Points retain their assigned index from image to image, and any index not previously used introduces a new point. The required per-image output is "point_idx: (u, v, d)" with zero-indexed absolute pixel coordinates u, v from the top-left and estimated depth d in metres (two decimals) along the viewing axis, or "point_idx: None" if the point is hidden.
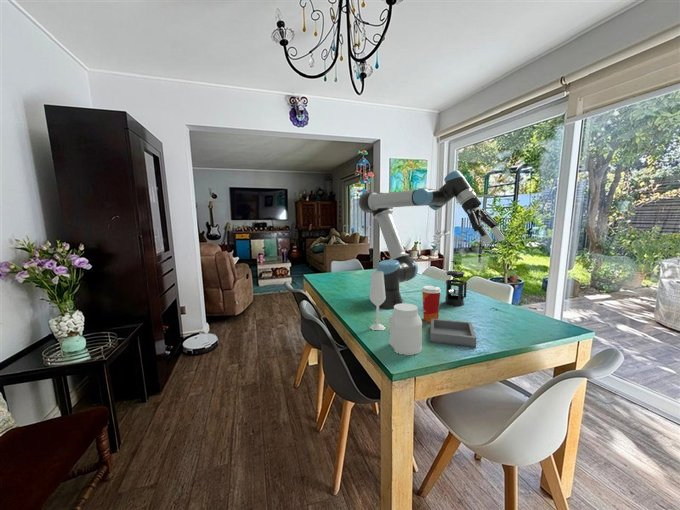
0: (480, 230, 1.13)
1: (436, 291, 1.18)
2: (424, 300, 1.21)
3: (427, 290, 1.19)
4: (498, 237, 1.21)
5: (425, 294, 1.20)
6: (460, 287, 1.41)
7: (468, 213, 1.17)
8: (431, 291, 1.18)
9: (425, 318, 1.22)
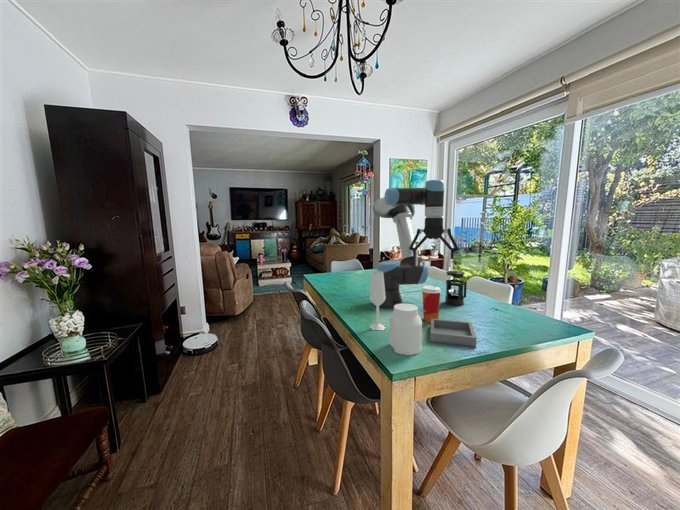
0: (413, 252, 1.22)
1: (436, 291, 1.18)
2: (424, 300, 1.21)
3: (427, 290, 1.19)
4: (448, 262, 1.19)
5: (425, 294, 1.20)
6: (460, 287, 1.41)
7: None
8: (431, 291, 1.18)
9: (425, 318, 1.22)
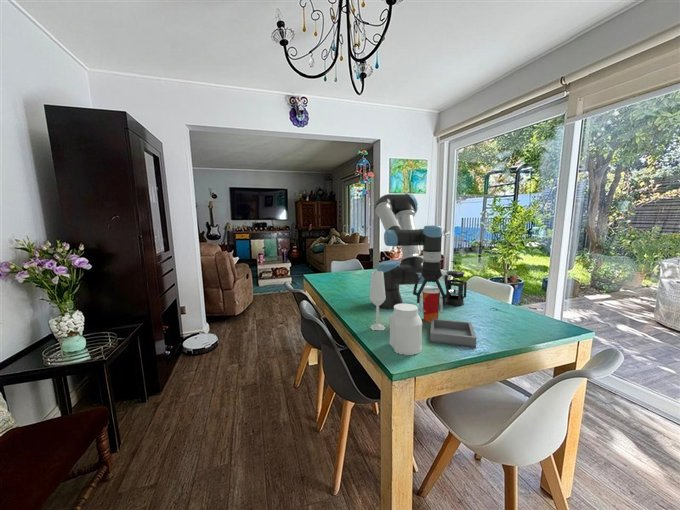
0: (417, 297, 1.24)
1: (436, 291, 1.18)
2: (424, 300, 1.21)
3: (427, 290, 1.19)
4: (440, 307, 1.22)
5: (425, 294, 1.20)
6: (460, 287, 1.41)
7: None
8: (431, 291, 1.18)
9: (425, 318, 1.22)
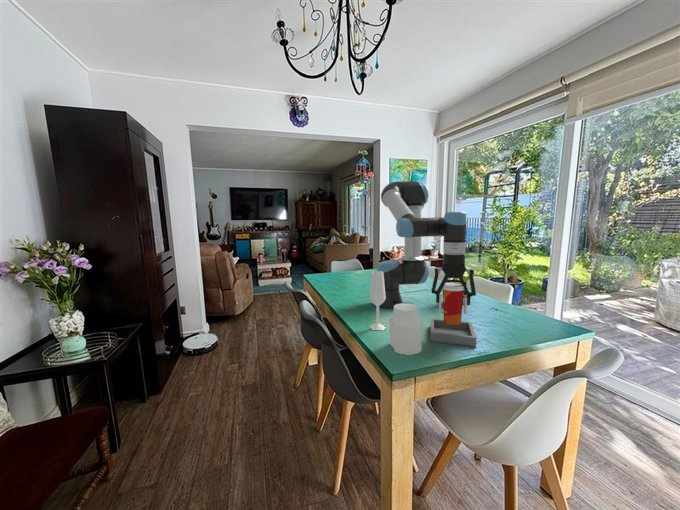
0: (436, 296, 1.06)
1: (460, 288, 1.00)
2: (445, 299, 1.03)
3: (449, 287, 1.01)
4: None
5: (446, 292, 1.02)
6: None
7: None
8: (454, 288, 1.01)
9: (446, 320, 1.04)
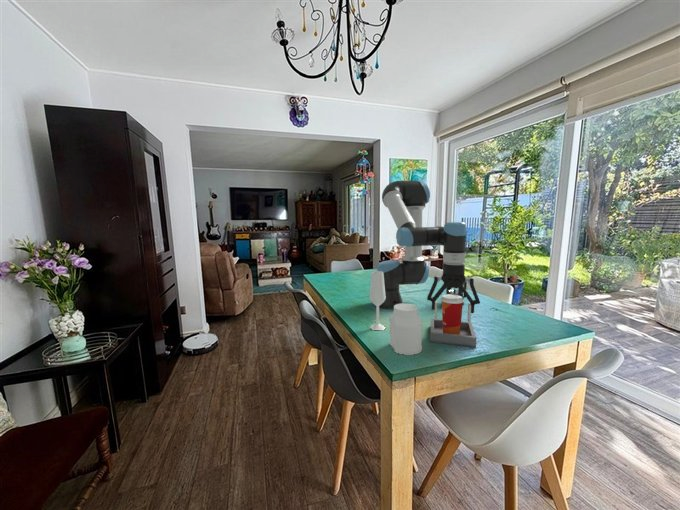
0: None
1: (459, 301, 1.01)
2: (444, 311, 1.04)
3: (448, 300, 1.02)
4: None
5: (445, 304, 1.03)
6: None
7: None
8: (453, 301, 1.01)
9: (445, 332, 1.05)
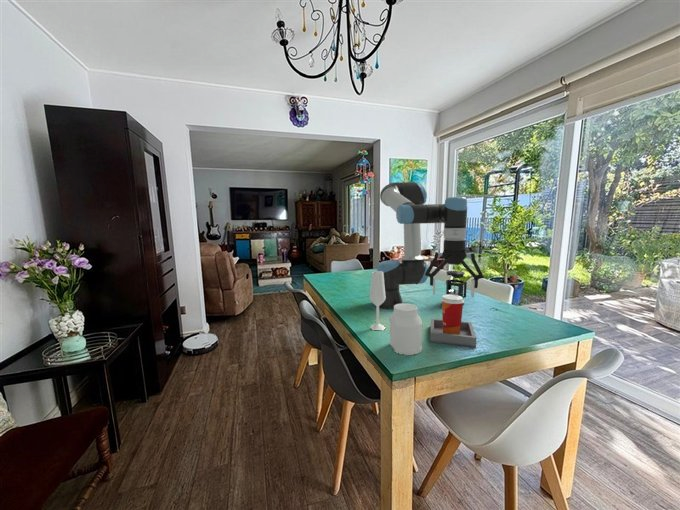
0: (430, 279, 1.06)
1: (459, 301, 1.01)
2: (444, 311, 1.04)
3: (448, 300, 1.02)
4: (471, 291, 1.03)
5: (446, 304, 1.03)
6: (460, 287, 1.41)
7: None
8: (453, 301, 1.01)
9: (445, 332, 1.05)
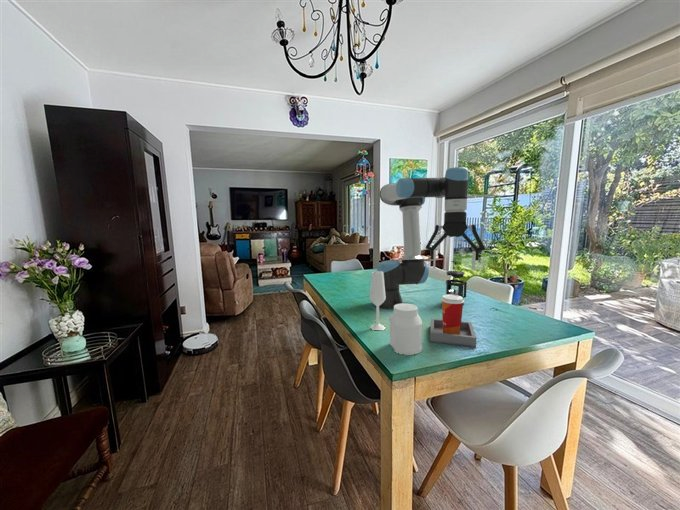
0: None
1: (459, 301, 1.01)
2: (444, 311, 1.04)
3: (448, 300, 1.02)
4: (472, 264, 1.02)
5: (446, 304, 1.03)
6: (460, 287, 1.41)
7: None
8: (453, 301, 1.01)
9: (445, 332, 1.05)
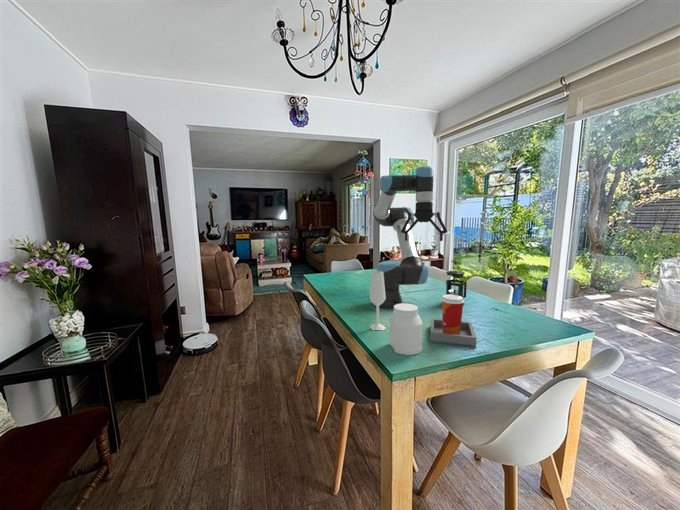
0: (405, 235, 1.30)
1: (459, 301, 1.01)
2: (444, 311, 1.04)
3: (448, 300, 1.02)
4: None
5: (446, 304, 1.03)
6: (460, 287, 1.41)
7: None
8: (453, 301, 1.01)
9: (445, 332, 1.05)
